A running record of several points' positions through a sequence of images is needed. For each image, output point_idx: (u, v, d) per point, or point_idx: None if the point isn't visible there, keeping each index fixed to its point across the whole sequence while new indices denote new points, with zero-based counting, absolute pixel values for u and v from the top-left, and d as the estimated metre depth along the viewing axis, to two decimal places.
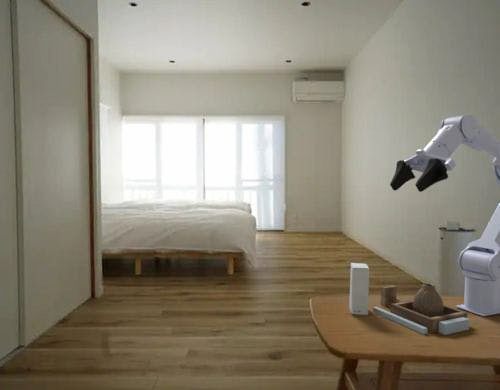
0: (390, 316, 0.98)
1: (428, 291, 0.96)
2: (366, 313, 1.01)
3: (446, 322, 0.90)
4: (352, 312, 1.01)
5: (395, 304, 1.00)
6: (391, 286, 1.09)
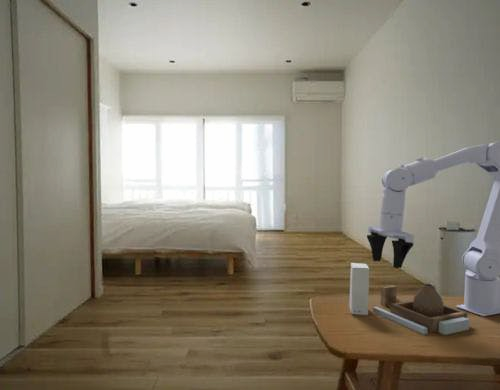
0: (390, 316, 0.98)
1: (428, 291, 0.96)
2: (366, 313, 1.01)
3: (446, 322, 0.90)
4: (352, 312, 1.01)
5: (395, 304, 1.00)
6: (391, 286, 1.09)
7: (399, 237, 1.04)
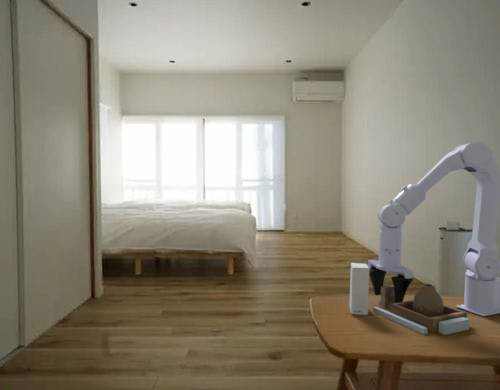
0: (390, 316, 0.98)
1: (428, 291, 0.96)
2: (366, 313, 1.01)
3: (446, 322, 0.90)
4: (352, 312, 1.01)
5: (395, 304, 1.00)
6: (391, 286, 1.09)
7: (398, 273, 1.06)
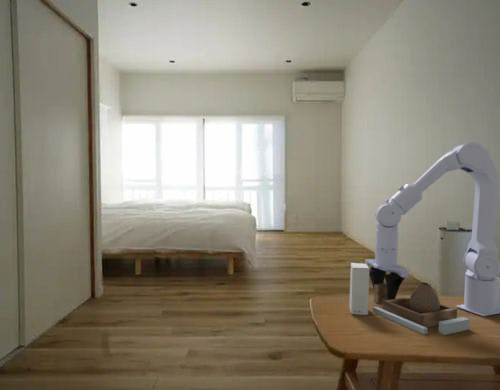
0: (390, 316, 0.98)
1: (424, 290, 0.97)
2: (366, 313, 1.01)
3: (446, 322, 0.90)
4: (352, 312, 1.01)
5: (387, 301, 1.03)
6: (384, 284, 1.11)
7: (395, 271, 1.07)
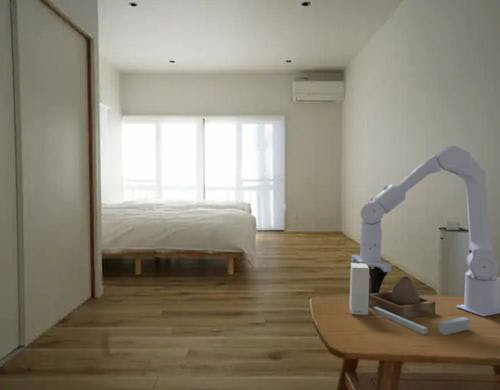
0: (390, 316, 0.98)
1: (404, 283, 1.03)
2: (366, 313, 1.01)
3: (446, 322, 0.90)
4: (352, 312, 1.01)
5: (370, 294, 1.08)
6: None
7: (378, 266, 1.13)
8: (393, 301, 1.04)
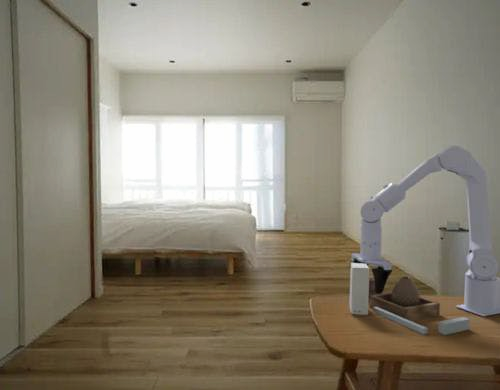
0: (390, 316, 0.98)
1: (404, 283, 1.03)
2: (366, 313, 1.01)
3: (446, 322, 0.90)
4: (352, 312, 1.01)
5: (374, 296, 1.07)
6: (371, 280, 1.16)
7: (378, 265, 1.12)
8: (393, 301, 1.04)
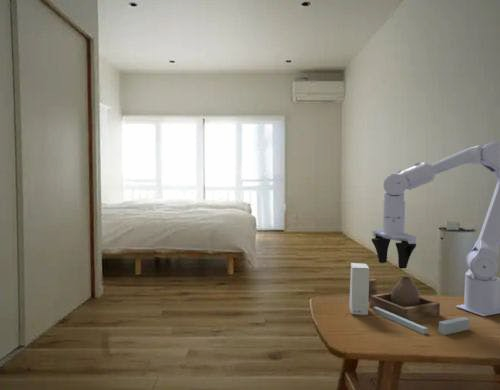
0: (390, 316, 0.98)
1: (404, 283, 1.03)
2: (366, 313, 1.01)
3: (446, 322, 0.90)
4: (352, 312, 1.01)
5: (374, 296, 1.07)
6: (371, 280, 1.16)
7: (402, 239, 1.10)
8: (393, 301, 1.04)
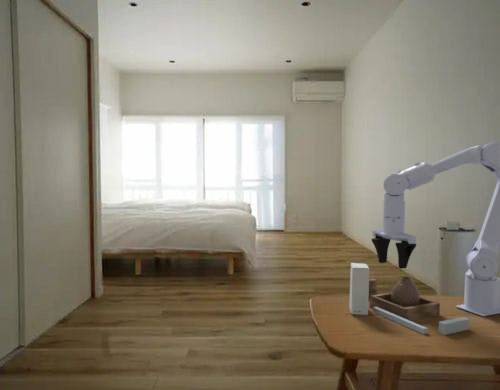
0: (390, 316, 0.98)
1: (404, 283, 1.03)
2: (366, 313, 1.01)
3: (446, 322, 0.90)
4: (352, 312, 1.01)
5: (374, 296, 1.07)
6: (371, 280, 1.16)
7: (402, 239, 1.10)
8: (393, 301, 1.04)
